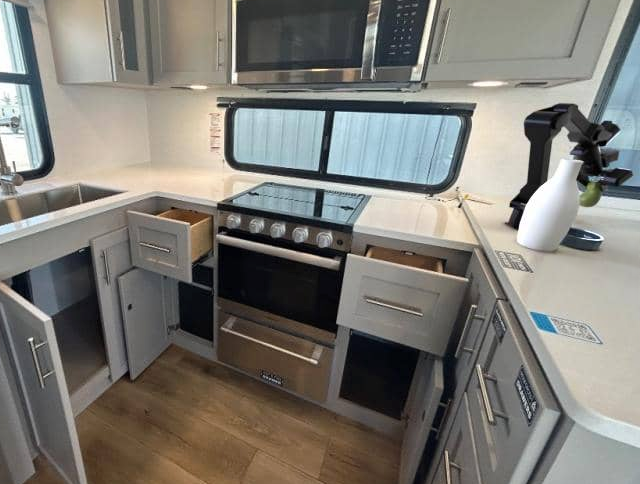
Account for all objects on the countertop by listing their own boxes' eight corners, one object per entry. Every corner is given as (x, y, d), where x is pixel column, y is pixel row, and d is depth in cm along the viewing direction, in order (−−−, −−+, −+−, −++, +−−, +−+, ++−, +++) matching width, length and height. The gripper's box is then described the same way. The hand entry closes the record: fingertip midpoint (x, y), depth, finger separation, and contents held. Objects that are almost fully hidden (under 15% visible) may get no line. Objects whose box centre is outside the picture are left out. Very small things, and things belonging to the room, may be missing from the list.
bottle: (508, 235, 106) (540, 155, 96) (553, 243, 101) (591, 160, 91) (516, 247, 96) (552, 160, 86) (565, 257, 92) (609, 166, 82)
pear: (597, 210, 117) (613, 182, 113) (579, 207, 118) (594, 180, 114) (588, 206, 122) (603, 179, 118) (571, 203, 123) (584, 177, 119)
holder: (565, 248, 98) (571, 237, 96) (540, 234, 108) (545, 224, 106) (608, 253, 96) (614, 242, 95) (579, 238, 106) (584, 228, 105)
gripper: (645, 144, 102) (650, 180, 108) (578, 136, 119) (586, 168, 125) (613, 168, 103) (620, 203, 110) (551, 157, 120) (560, 188, 127)
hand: (596, 189), depth 118 cm, fingers closed on pear, 4 cm apart
